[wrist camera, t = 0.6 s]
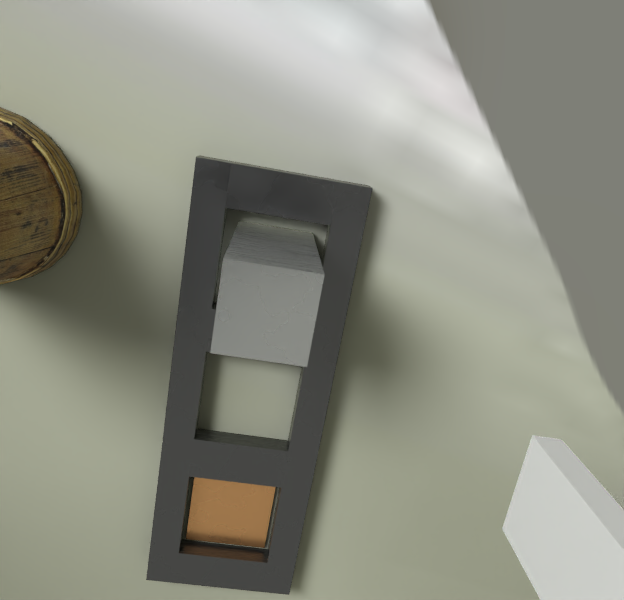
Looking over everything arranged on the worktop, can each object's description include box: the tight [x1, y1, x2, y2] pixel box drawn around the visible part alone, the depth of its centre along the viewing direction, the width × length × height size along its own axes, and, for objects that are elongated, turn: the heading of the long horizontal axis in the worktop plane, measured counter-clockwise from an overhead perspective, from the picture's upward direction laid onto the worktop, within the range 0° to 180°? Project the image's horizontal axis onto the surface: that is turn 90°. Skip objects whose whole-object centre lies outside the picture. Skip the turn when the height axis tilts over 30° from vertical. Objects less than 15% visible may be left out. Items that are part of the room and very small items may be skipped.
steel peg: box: [210, 221, 325, 367], centre depth 27 cm, size 4×4×9 cm
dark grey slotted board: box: [146, 156, 372, 595], centre depth 33 cm, size 9×26×1 cm, turn 170°
